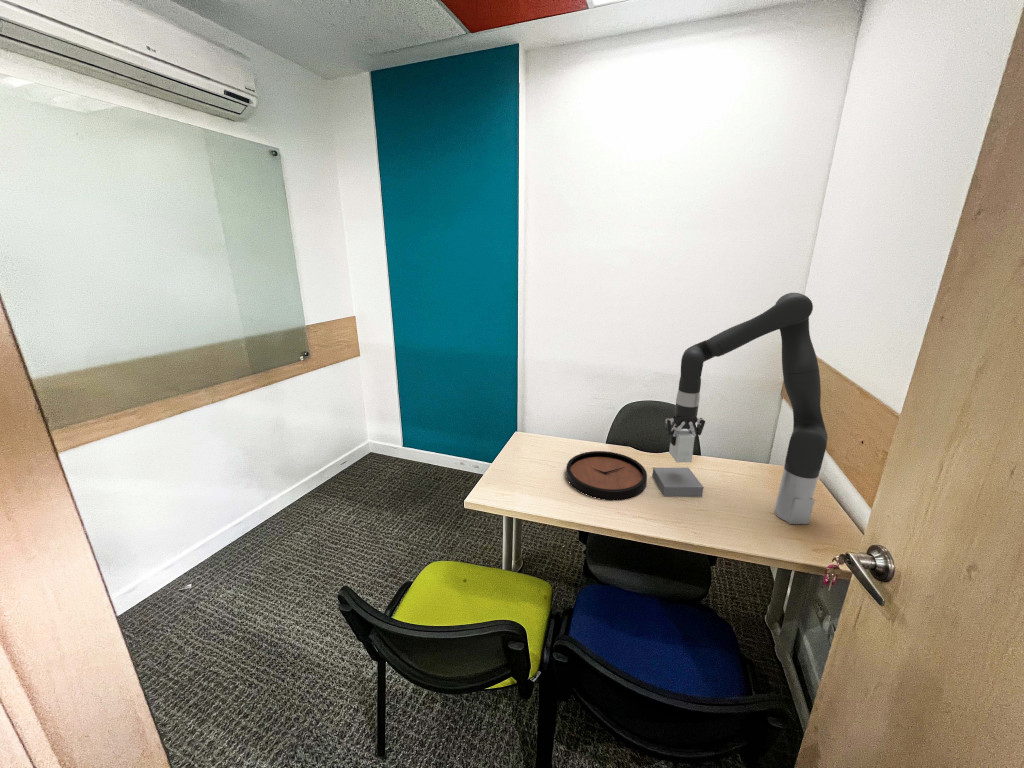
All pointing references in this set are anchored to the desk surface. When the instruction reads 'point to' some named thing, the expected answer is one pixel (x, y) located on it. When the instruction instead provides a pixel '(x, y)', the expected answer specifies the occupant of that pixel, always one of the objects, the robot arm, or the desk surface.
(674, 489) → the base block
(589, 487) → the wall clock
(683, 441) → the small box
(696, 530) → the desk surface
